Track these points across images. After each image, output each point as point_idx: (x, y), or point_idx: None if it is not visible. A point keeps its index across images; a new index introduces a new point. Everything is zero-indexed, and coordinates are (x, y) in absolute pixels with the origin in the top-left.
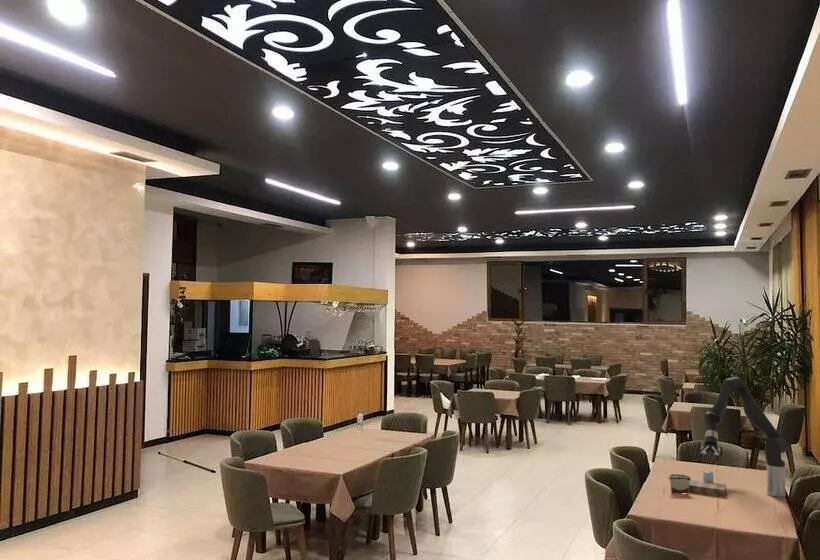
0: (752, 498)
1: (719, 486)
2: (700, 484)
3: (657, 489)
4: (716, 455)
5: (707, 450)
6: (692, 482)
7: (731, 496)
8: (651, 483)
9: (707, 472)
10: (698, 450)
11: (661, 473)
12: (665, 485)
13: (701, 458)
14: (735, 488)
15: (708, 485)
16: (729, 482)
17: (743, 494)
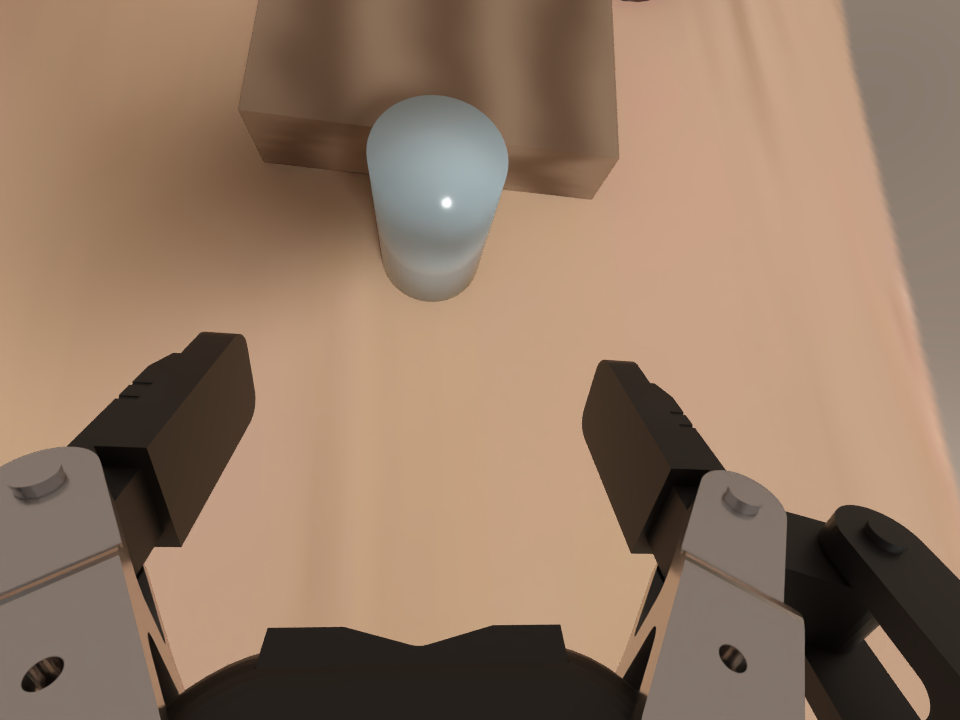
0: (27, 21)
1: (316, 9)
2: (500, 16)
3: (775, 5)
4: (161, 624)
5: (569, 668)
6: (576, 59)
7: (228, 17)
8: (862, 152)
9: (447, 128)
10: (926, 572)
11: None
12: (762, 139)
13: (627, 363)
14: (139, 342)
15: (425, 7)
16: (171, 645)
17: (92, 126)
